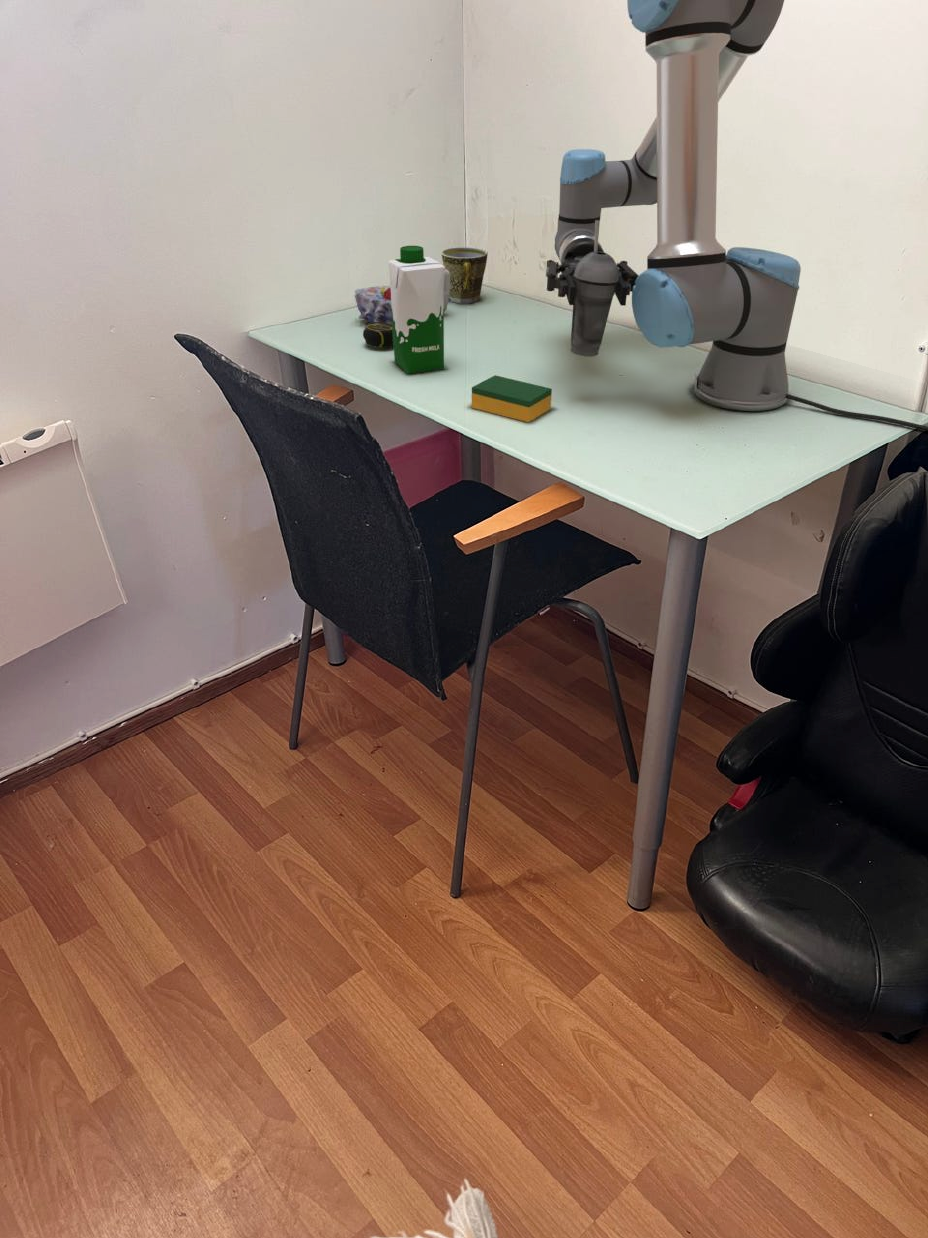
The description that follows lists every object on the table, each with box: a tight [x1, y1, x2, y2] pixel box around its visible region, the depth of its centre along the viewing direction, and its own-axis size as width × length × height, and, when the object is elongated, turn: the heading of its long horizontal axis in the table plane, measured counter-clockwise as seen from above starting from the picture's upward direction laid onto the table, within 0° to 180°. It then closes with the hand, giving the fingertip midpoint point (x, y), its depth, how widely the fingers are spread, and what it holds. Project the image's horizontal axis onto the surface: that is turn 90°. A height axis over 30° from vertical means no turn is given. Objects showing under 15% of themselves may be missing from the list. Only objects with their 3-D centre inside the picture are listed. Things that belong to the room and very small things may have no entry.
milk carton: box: [388, 245, 445, 375], centre depth 161 cm, size 9×9×20 cm
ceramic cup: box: [441, 246, 489, 305], centre depth 199 cm, size 13×10×10 cm
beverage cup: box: [570, 220, 619, 358], centre depth 144 cm, size 7×7×20 cm
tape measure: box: [362, 322, 393, 349], centre depth 176 cm, size 7×7×4 cm
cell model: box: [354, 269, 450, 325], centre depth 188 cm, size 13×11×20 cm
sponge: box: [471, 375, 553, 423], centre depth 149 cm, size 11×7×4 cm, turn 55°
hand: (598, 296), depth 140 cm, fingers closed on beverage cup, 7 cm apart
